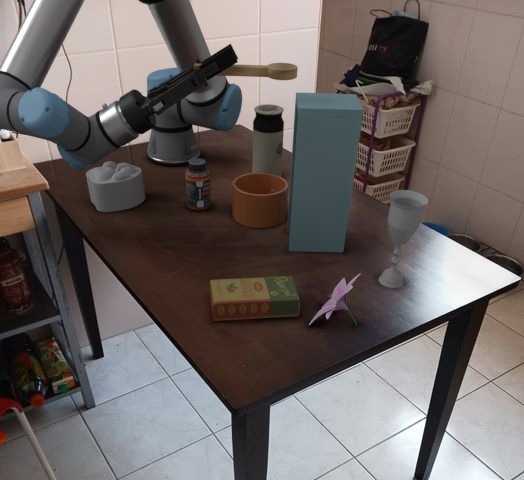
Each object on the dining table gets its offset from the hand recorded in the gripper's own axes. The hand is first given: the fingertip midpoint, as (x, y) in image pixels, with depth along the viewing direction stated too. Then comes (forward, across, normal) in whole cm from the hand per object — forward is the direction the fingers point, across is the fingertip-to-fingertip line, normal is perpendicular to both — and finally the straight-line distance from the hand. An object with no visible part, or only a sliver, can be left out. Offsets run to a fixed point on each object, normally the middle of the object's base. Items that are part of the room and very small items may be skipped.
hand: (233, 52), depth 98 cm
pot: (-14, +12, +35) cm, 40 cm away
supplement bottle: (-27, +16, +28) cm, 42 cm away
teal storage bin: (-3, 0, +42) cm, 42 cm away
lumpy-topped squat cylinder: (-44, +18, +18) cm, 51 cm away
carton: (-15, -26, +35) cm, 46 cm away
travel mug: (-12, +35, +37) cm, 52 cm away
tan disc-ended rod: (0, 0, +4) cm, 4 cm away
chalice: (+9, -16, +49) cm, 52 cm away
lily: (-2, -30, +42) cm, 52 cm away
